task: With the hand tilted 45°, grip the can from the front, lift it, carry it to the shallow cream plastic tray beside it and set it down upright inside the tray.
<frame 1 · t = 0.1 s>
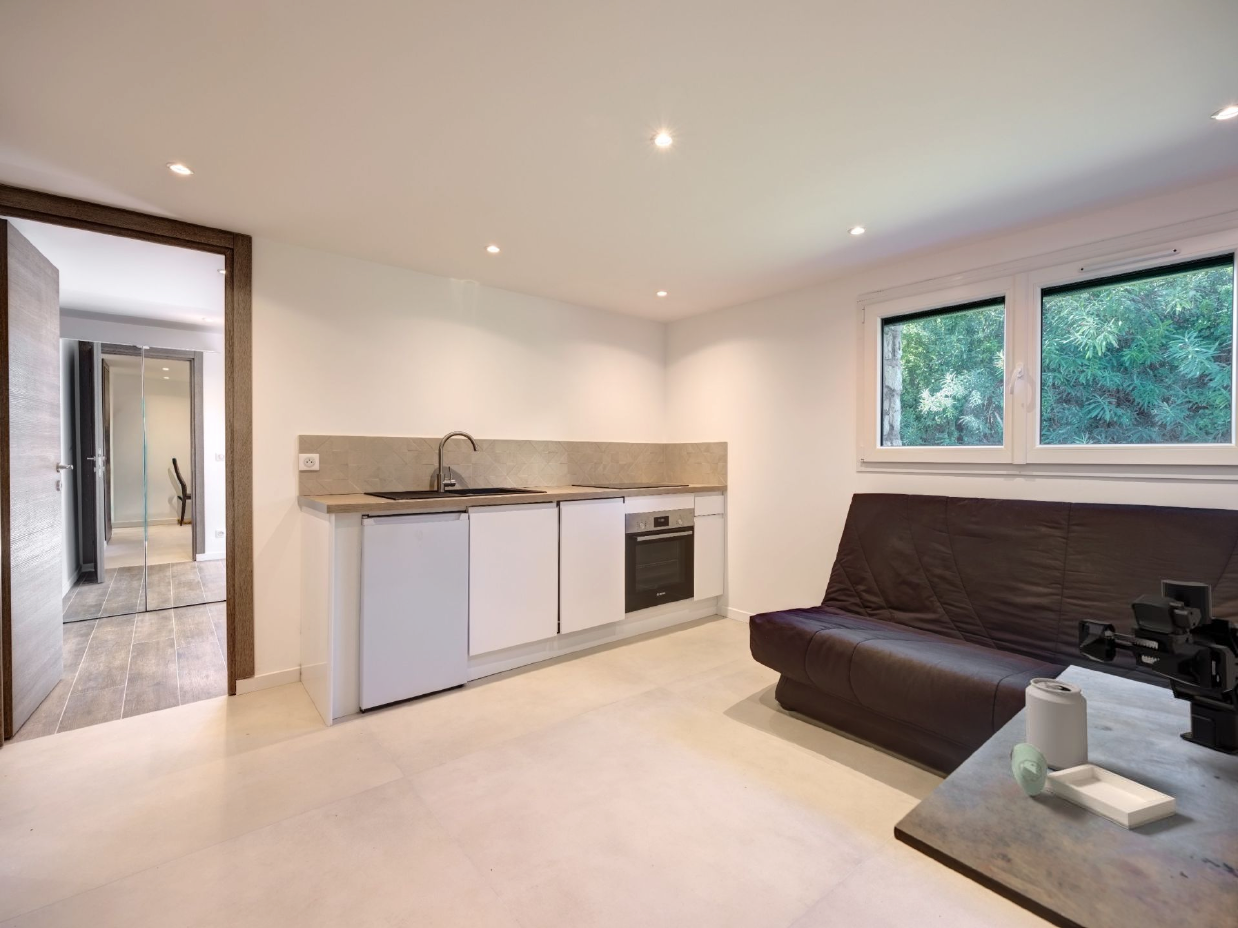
hand: (1115, 657, 85), 17 cm above the table, tool horizontal, fingers open, 9 cm apart
tray: (1107, 801, 76), on the table
can: (1056, 763, 86), on the table
green oval piece: (1029, 795, 77), on the table
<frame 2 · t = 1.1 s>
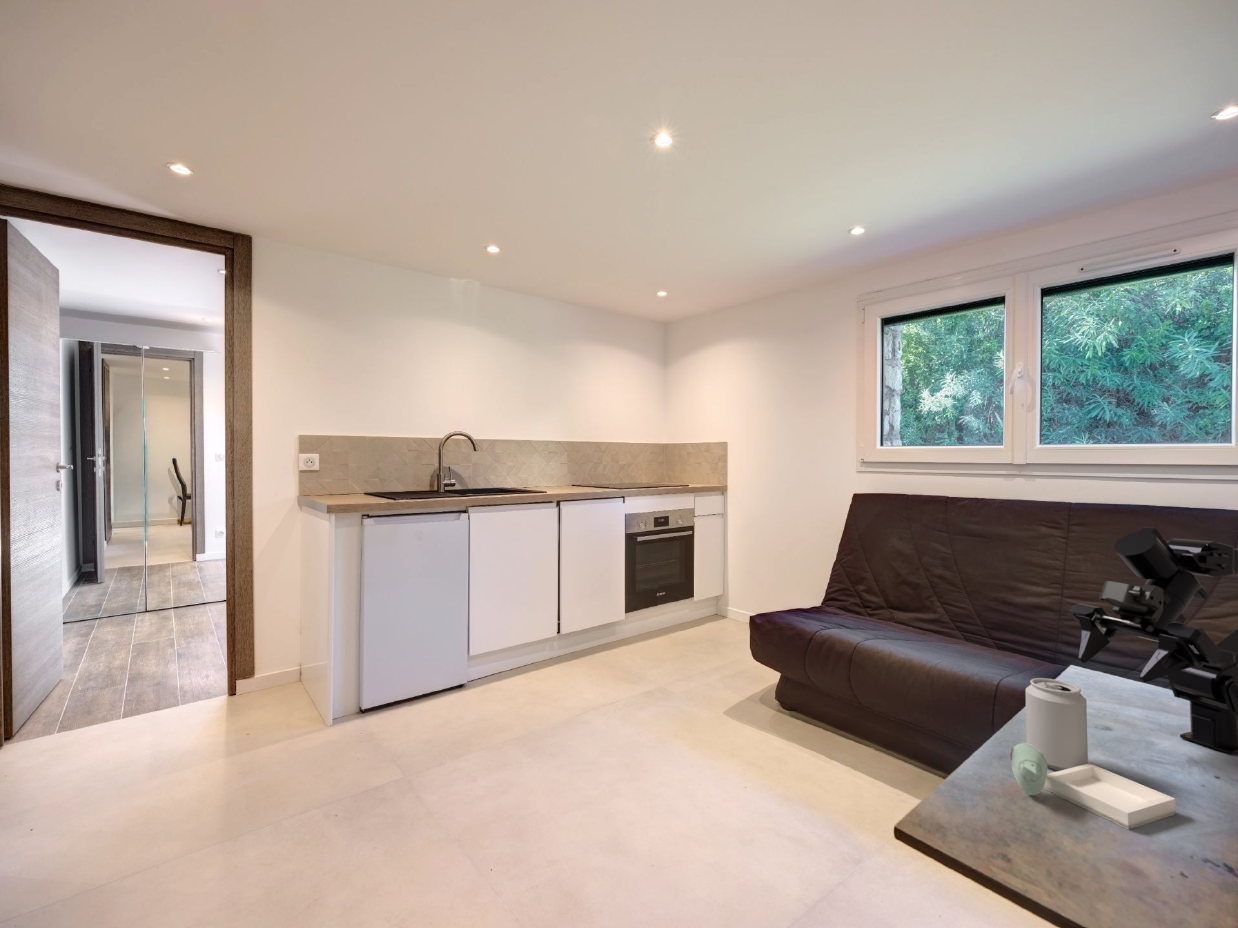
hand: (1109, 670, 90), 13 cm above the table, tool tilted 45°, fingers open, 9 cm apart
nothing on the table moved.
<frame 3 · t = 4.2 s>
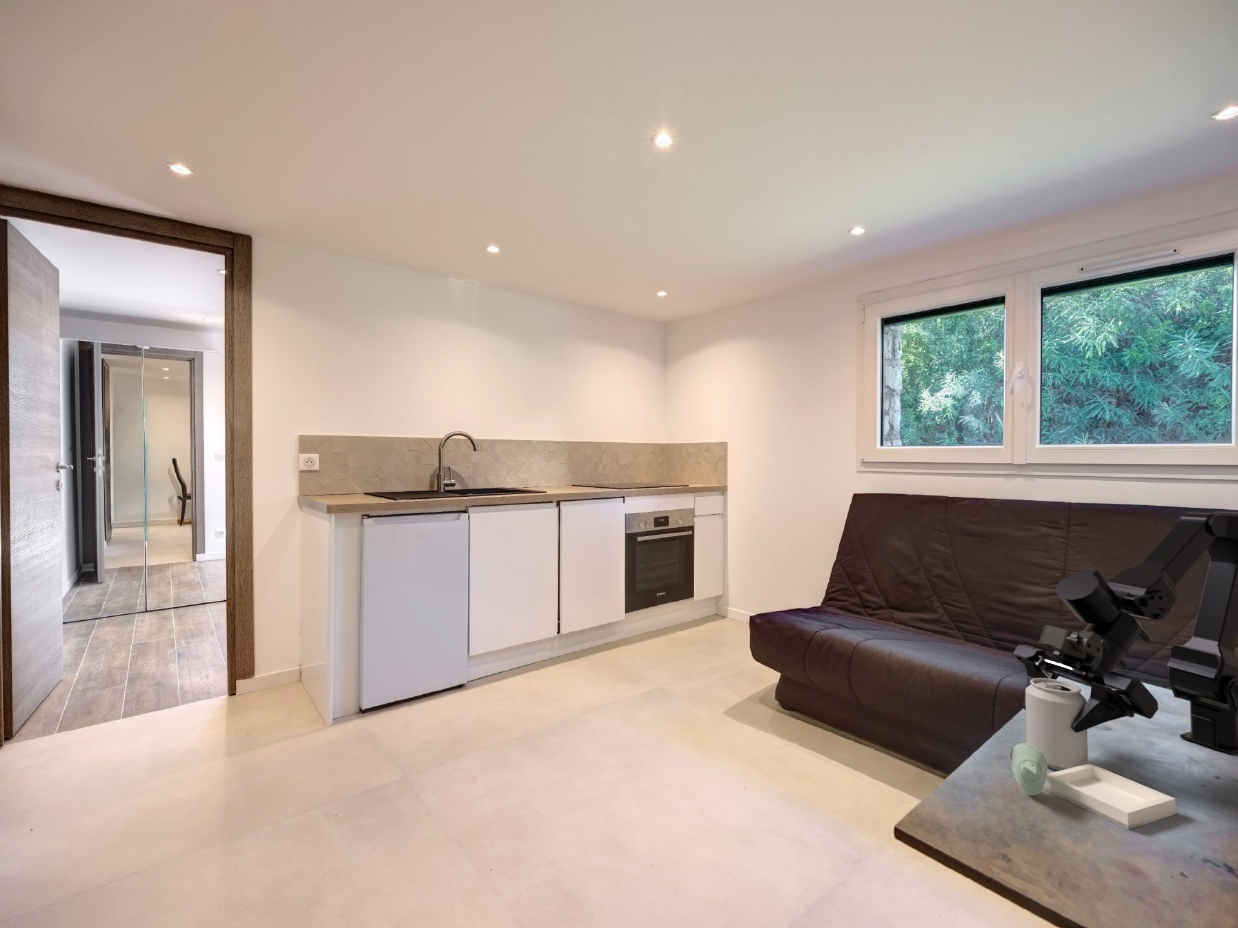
hand: (1048, 719, 86), 7 cm above the table, tool tilted 45°, fingers closed on can, 7 cm apart
can: (1056, 763, 86), on the table, touching gripper
everything else where it was.
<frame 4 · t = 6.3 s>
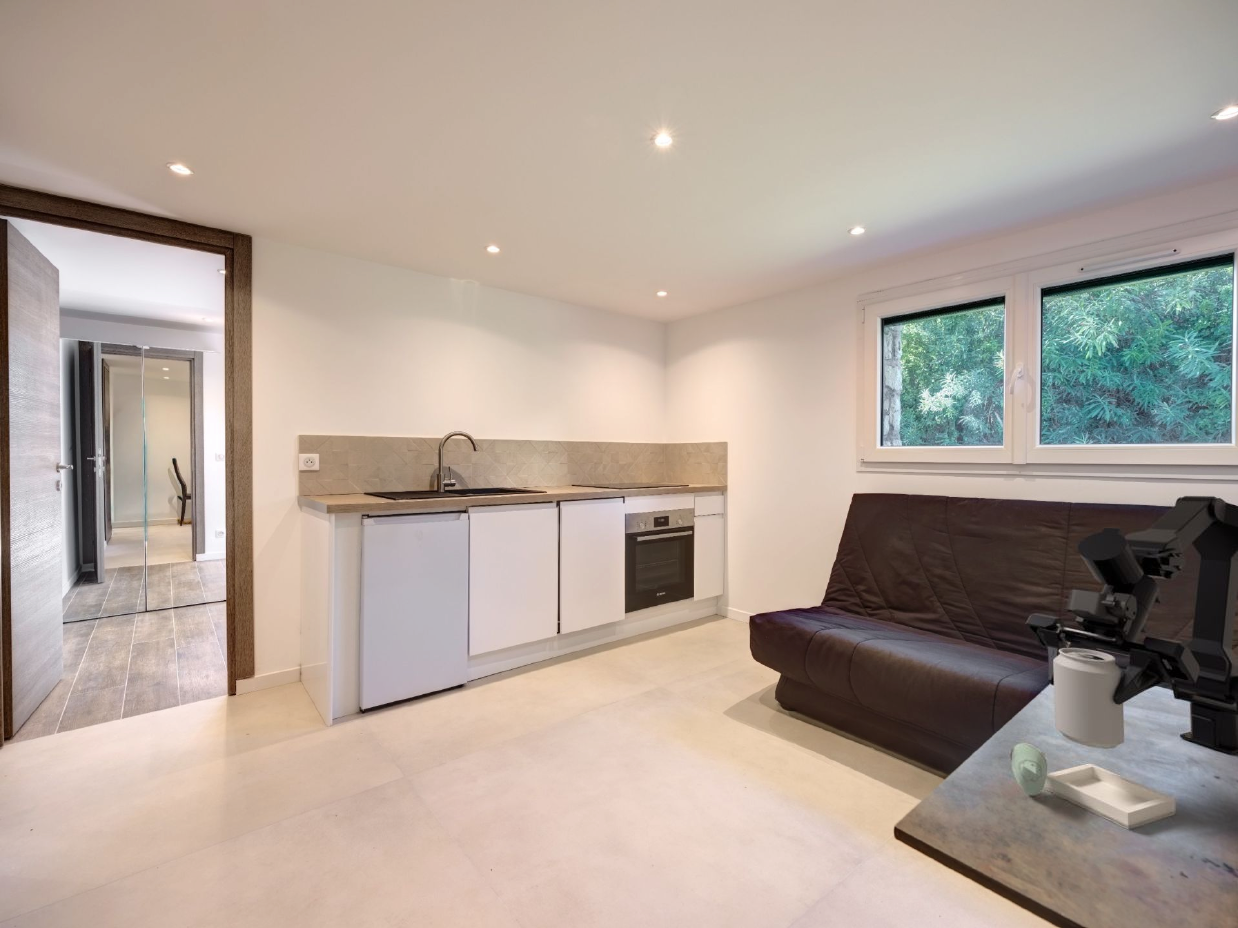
hand: (1082, 692, 79), 14 cm above the table, tool tilted 45°, fingers closed on can, 7 cm apart
can: (1088, 740, 79), point 7 cm above the table, touching gripper
everything else where it was.
when the fingers open (8 cm above the table, at t = 8.4 s): can stays where it is, resting on tray.
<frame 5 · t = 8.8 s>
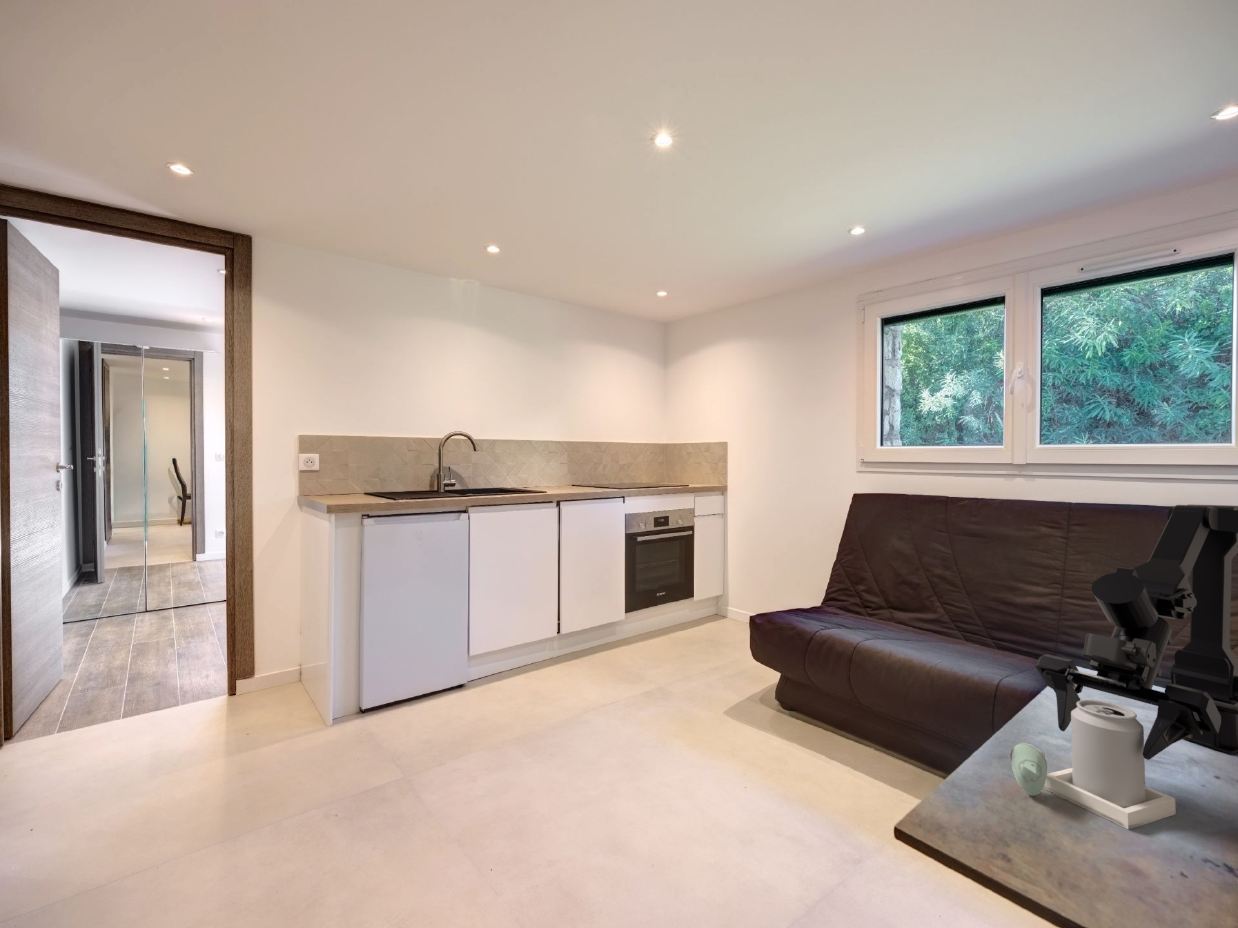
hand: (1101, 742, 75), 8 cm above the table, tool tilted 45°, fingers open, 9 cm apart
can: (1108, 798, 76), resting on tray
everything else where it was.
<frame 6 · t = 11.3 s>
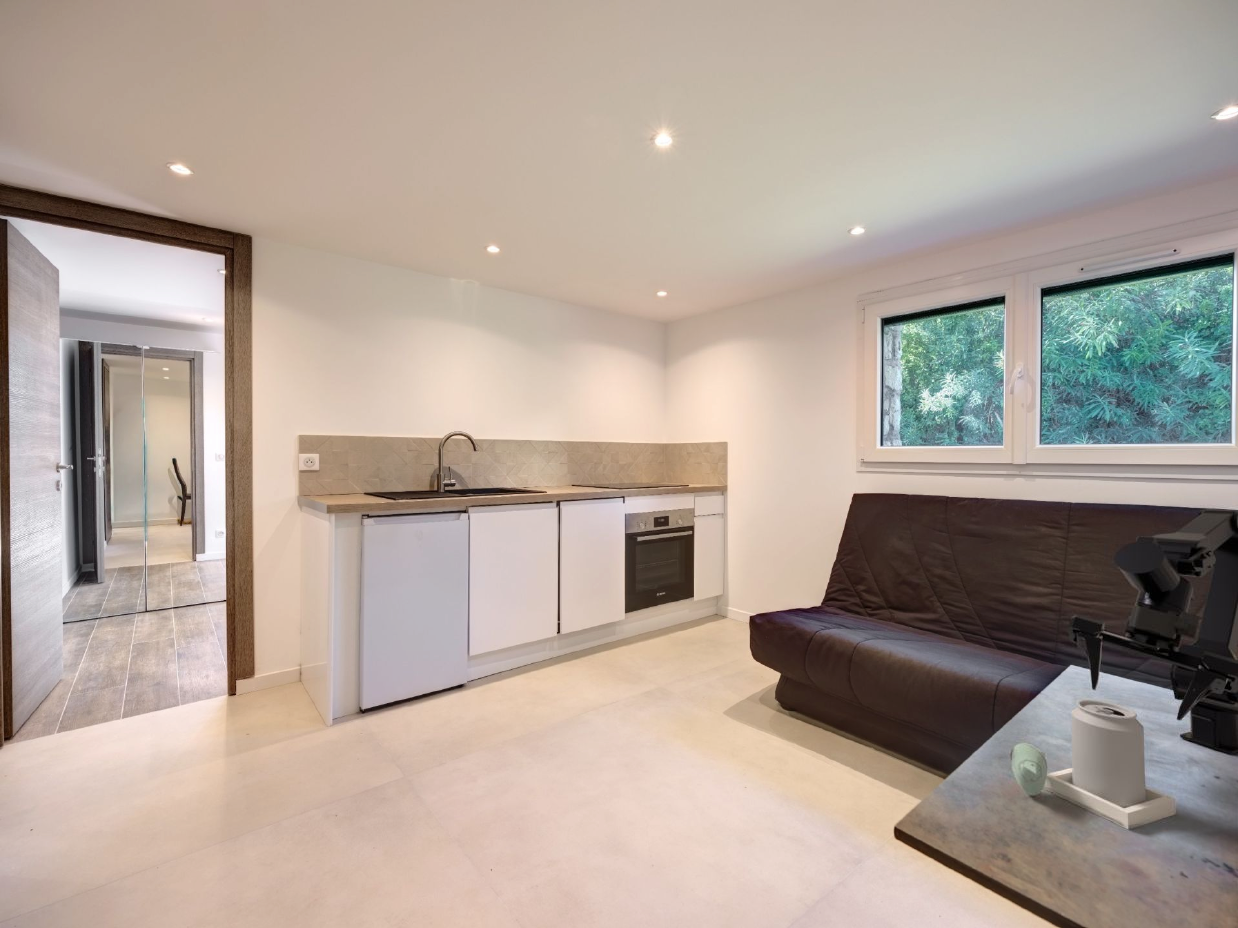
hand: (1134, 703, 81), 11 cm above the table, tool tilted 35°, fingers open, 9 cm apart
nothing on the table moved.
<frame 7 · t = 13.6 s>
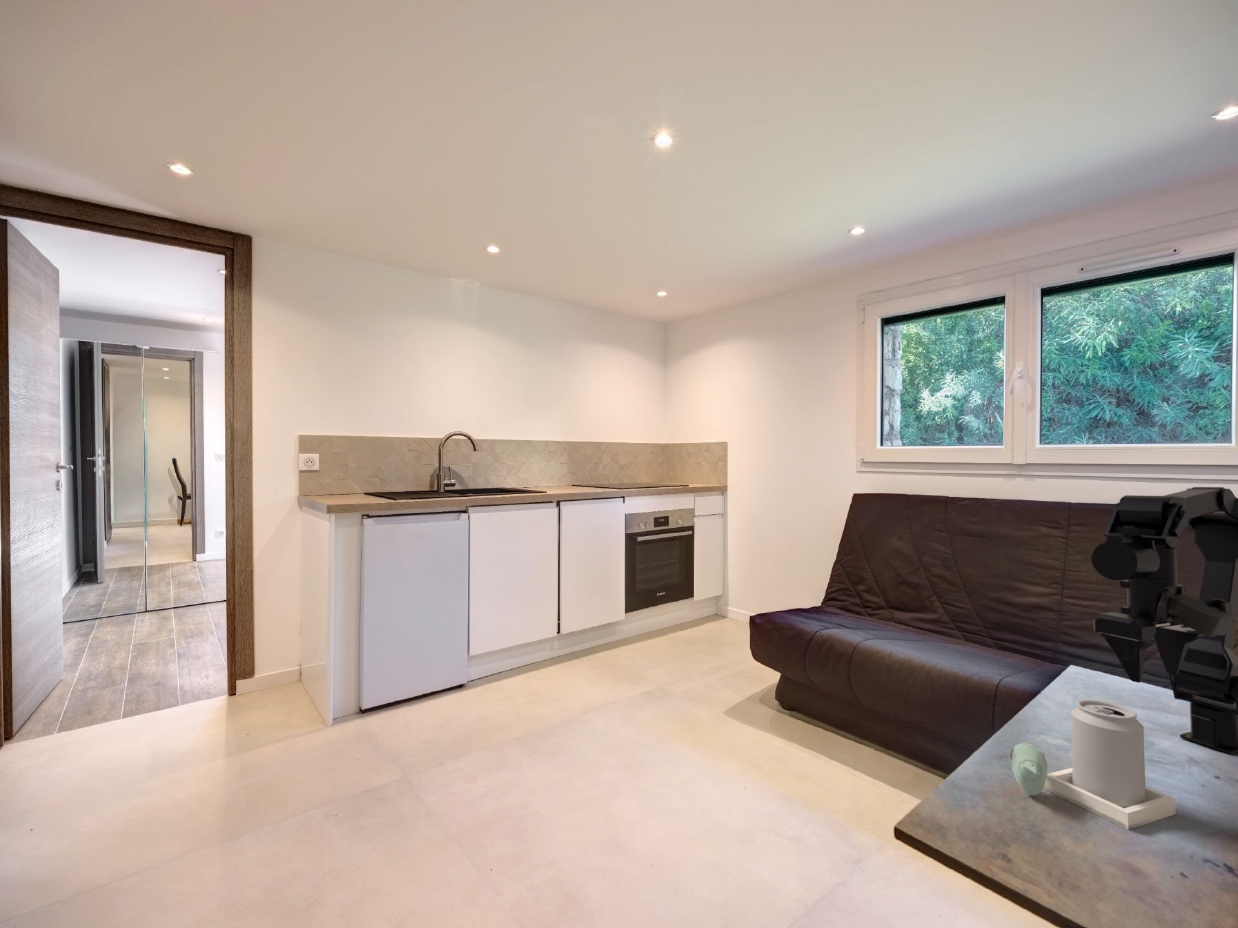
hand: (1154, 678, 86), 13 cm above the table, tool pointing down, fingers open, 9 cm apart
nothing on the table moved.
at the end: can 0.2 cm off-centre on the tray, point 0.3 cm above the tray's base; can tilted 0°; the gripper is holding nothing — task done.
